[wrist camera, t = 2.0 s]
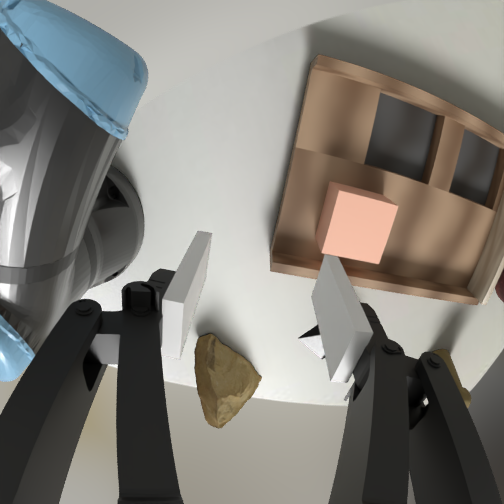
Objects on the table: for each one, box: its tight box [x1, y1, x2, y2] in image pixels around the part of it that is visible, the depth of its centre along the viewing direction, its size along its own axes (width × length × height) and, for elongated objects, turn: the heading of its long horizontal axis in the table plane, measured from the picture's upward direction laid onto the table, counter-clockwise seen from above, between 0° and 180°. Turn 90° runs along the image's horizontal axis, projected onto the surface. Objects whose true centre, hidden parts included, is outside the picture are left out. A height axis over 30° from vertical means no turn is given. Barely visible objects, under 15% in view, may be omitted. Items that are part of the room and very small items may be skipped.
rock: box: [194, 334, 262, 428], centre depth 39 cm, size 11×9×10 cm
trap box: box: [270, 54, 504, 305], centre depth 28 cm, size 28×21×6 cm
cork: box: [432, 349, 471, 408], centre depth 37 cm, size 6×6×11 cm
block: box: [315, 181, 398, 264], centre depth 29 cm, size 6×6×4 cm
